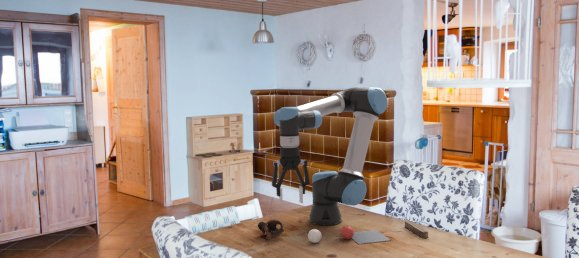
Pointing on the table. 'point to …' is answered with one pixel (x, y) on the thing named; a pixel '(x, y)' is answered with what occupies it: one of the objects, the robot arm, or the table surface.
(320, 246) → the table surface
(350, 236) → the red ball
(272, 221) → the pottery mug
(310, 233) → the cue ball
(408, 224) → the strip
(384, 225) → the table surface
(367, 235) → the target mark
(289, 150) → the robot arm
